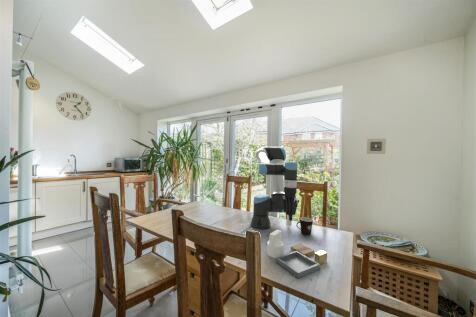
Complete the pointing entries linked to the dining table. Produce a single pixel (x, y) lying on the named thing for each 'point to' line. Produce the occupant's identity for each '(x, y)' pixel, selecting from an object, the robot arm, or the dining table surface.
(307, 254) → the tan rounded-edge slab
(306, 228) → the coffee mug
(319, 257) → the block
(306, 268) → the tray
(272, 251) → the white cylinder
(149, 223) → the dining table surface
